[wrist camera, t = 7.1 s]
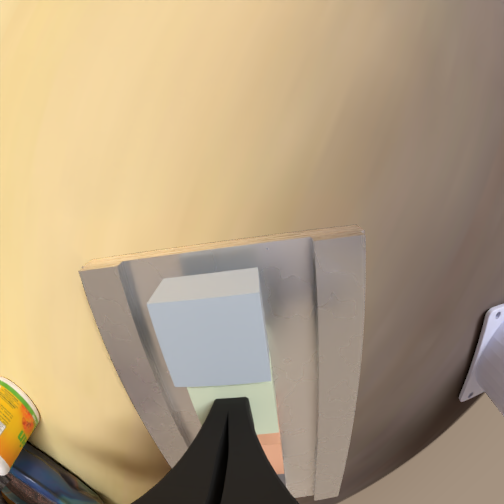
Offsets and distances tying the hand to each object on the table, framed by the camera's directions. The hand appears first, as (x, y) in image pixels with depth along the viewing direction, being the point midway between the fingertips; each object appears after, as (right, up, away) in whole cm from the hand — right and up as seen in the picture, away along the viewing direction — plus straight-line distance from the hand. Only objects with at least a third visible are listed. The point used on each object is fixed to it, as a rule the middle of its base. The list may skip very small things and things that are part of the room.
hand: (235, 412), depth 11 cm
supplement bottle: (-19, -6, +5) cm, 21 cm away
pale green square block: (0, +1, +2) cm, 2 cm away
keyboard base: (+1, -3, +4) cm, 5 cm away
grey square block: (-1, +4, 0) cm, 4 cm away
